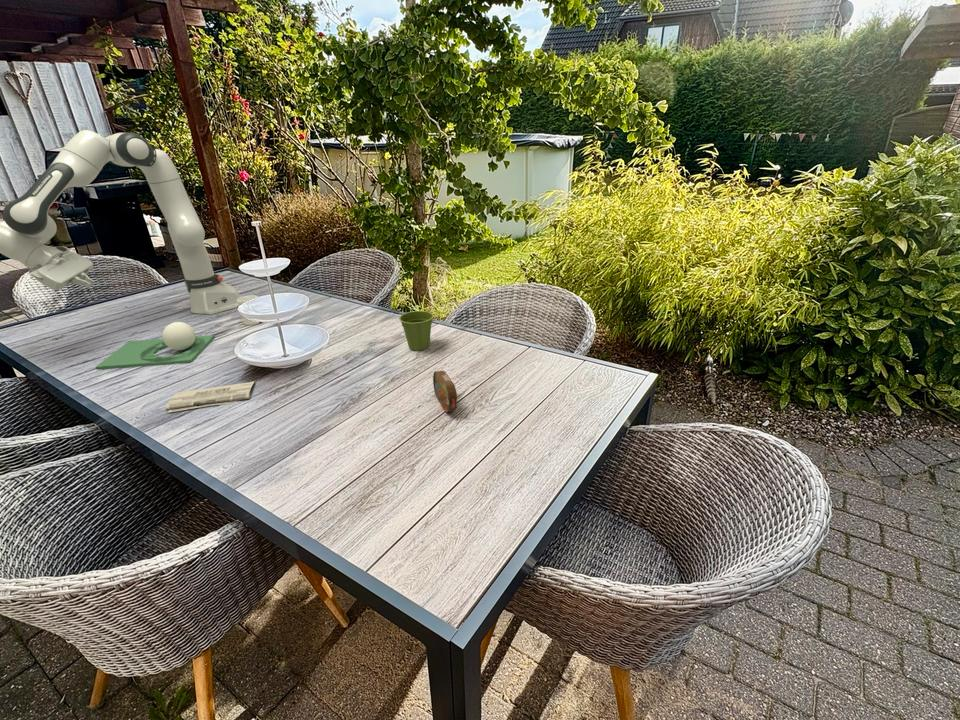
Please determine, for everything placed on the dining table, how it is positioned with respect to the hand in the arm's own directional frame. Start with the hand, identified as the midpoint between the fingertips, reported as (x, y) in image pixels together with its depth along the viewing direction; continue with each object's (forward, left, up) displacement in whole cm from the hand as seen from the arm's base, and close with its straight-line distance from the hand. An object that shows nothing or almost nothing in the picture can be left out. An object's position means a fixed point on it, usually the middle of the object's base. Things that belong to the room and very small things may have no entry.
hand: (92, 284), depth 164 cm
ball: (-20, +17, -19) cm, 32 cm away
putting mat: (-12, +15, -24) cm, 31 cm away
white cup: (-46, +6, -24) cm, 52 cm away
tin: (-76, +106, -24) cm, 132 cm away
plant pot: (-88, +68, -24) cm, 113 cm away
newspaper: (-23, +62, -25) cm, 70 cm away
